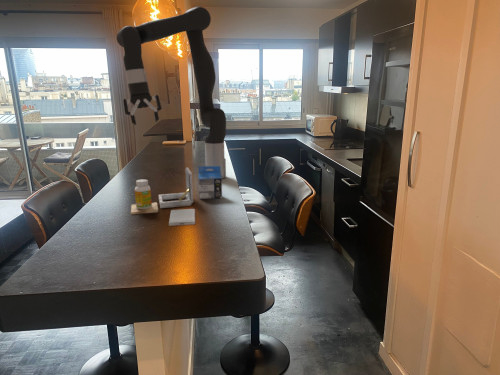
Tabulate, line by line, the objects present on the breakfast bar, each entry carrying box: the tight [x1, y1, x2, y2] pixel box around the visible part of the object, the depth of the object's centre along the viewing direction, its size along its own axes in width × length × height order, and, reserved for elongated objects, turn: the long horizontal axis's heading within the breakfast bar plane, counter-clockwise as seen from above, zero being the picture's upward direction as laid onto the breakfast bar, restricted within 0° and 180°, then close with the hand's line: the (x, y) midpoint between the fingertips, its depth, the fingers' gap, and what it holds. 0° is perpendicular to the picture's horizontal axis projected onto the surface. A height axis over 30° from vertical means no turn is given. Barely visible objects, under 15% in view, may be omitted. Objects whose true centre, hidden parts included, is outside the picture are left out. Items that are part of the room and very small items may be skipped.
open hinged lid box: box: [158, 167, 194, 209], centre depth 131 cm, size 12×11×12 cm
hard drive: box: [168, 208, 196, 227], centre depth 116 cm, size 2×8×12 cm
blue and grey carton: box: [197, 165, 223, 200], centre depth 137 cm, size 9×4×12 cm, turn 99°
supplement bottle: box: [134, 178, 153, 209], centre depth 123 cm, size 5×5×10 cm
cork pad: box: [130, 201, 159, 215], centre depth 124 cm, size 9×9×1 cm
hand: (146, 123), depth 143 cm, fingers open, 8 cm apart
